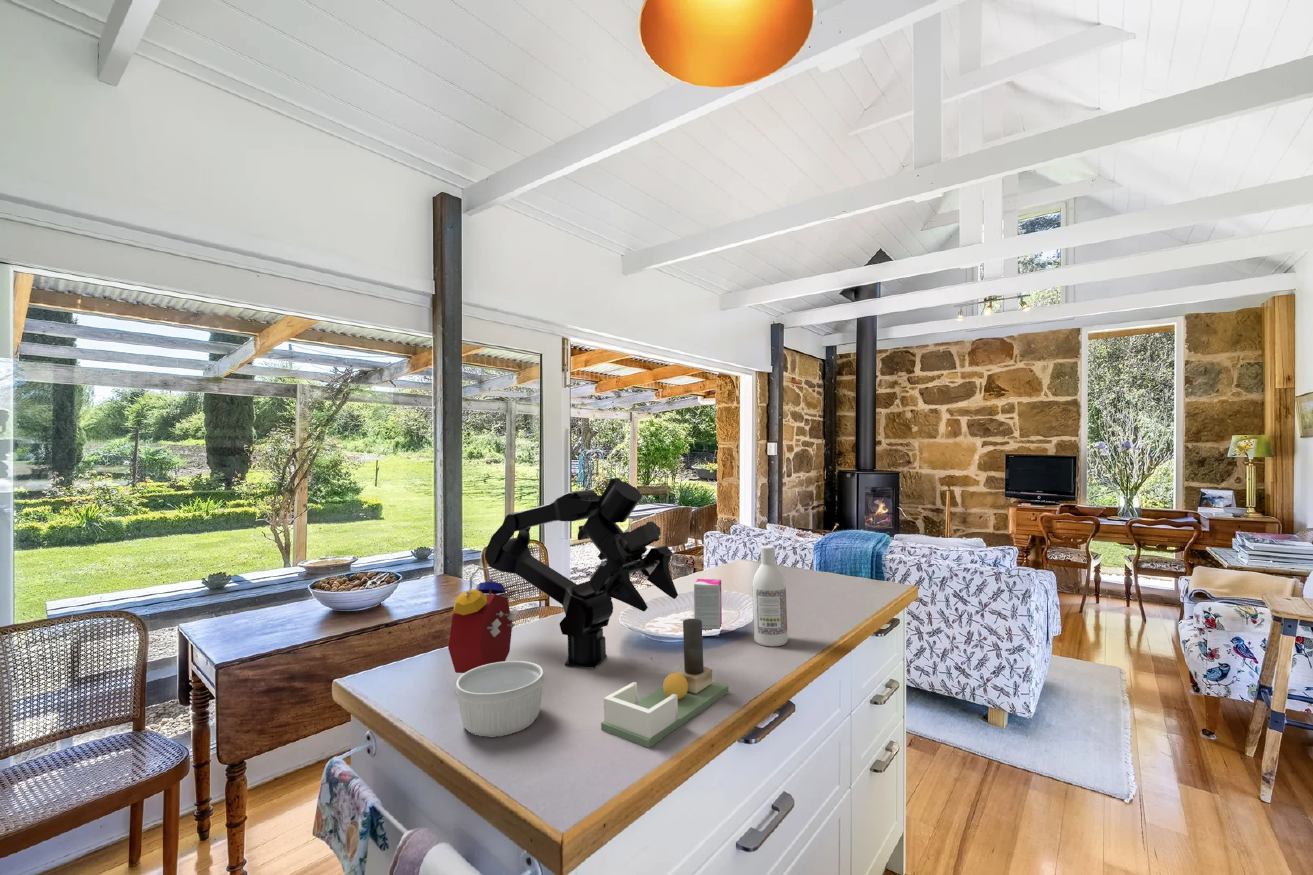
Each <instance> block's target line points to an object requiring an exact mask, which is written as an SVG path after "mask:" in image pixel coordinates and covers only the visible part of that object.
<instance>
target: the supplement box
mask: <svg viewBox="0 0 1313 875" xmlns="http://www.w3.org/2000/svg"><path fill="white" fill-rule="evenodd" d="M693 602H694V603H693V604H694V605H693V608H694V609H693V610H694V613H693V616H694V618H693V619H699V620H701V621H702V630H705V631H706V630H712V629H720V627H721V624H722V625H723V622H722V620H723V619H722V618H723V617H722V612H723V611H722V606H723V605H722V604H723V603H722V579H715V578H714V579H713V578H712V579H710V578H697V579H696V580H695V583H694V584H693Z"/></svg>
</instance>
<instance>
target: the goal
mask: <svg viewBox="0 0 1313 875" xmlns="http://www.w3.org/2000/svg"><path fill="white" fill-rule="evenodd" d="M638 693H639V692H638V682H636V681H633V682H631V683H629V684H627V685H626V686H624V687H622V688H620V689H618V690H616V691H614V692H612V693H611V694H609V695H606V696H605V697H603V710H604V711H603V715H604V716H603V717H604V718H603V719H604V720H603V721H604V722H606V723H609V724H612V725H614V726H617V727H620V728H622V729H625V730H628V731H630V732H633V733H636V734H638V735H641V736H643V737H646V738H649V739H650V738H651V737H653V736H654V735H656V734H657V733H659V732H660V731H662V730H663V729H665V728H666V727H668V726H669V725H671V724H672V723H673V722H675V721H677V720H678V700H677V695H676V694H672V695H671V696H669V697H668V698H666V699H664V700H663V701H661V702H660V703H658V704H656V705H655V706H653V707H651V708H650V709H647V708H644V707H641V706H638V701H639V697H638V696H639V695H638Z"/></svg>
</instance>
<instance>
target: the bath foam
mask: <svg viewBox="0 0 1313 875" xmlns="http://www.w3.org/2000/svg"><path fill="white" fill-rule="evenodd" d="M775 552H776V549H775V546H773V545H762V546H760V565H759V567H758V569H757V570H756V572H755V574H754V576H753V580H752V587H751V588H752V612H753V613H752V615H753V635H754V636H753V638H754V639H753V640H754V641H755V643H756V644H758V645H761V646H764V647H780V646H781V647H782V646H785V644H787V643H788V639H789V638H788V636H789V635H788V613H787V612H788V610H787V589H786V588H787V587H786V581H785V577H784V575H783V573H782V572H781V569H780V568H779V567H778V565H777V564H776V553H775Z"/></svg>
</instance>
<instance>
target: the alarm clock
mask: <svg viewBox="0 0 1313 875" xmlns="http://www.w3.org/2000/svg"><path fill="white" fill-rule="evenodd" d="M480 570H481V571H486V577H487V580H488V581H485V582H484V581H483V582H479V584H477V585H476V587H475V588H473V577H474V576H475V575H476V574H477V573H478V572H479V571H480ZM493 579H494V577H490V570H489V568H488V567H487V568H486V567H482V566H478V568H477V569H476V570H475V571H473V574H472V575H471V576H470V577H469V588H468V590H465V591H463V592H462V593H460V594H459V595H458V596H457V597H456V598H455V601H454V604H453V613H452V619H451V625H450V632H449V640H448V646H447V648H448V651H449V655H450V658H451V662H452V665H453V669H454V672H455V673H456V674H464V673H466V672H467V671H469V670H471V669H474V668H476V667H479V666H482V665H486V664H490V663H496V662H503V661H507V658H508V656H509V654H510V651H511V641H512V632H513V630H512V629H513V628H514V627H515V623H513V620H514V619H516V618H517V616H516V614H518V613H519V611H518V609H517V608H516V607H515V608H513V609H512V610H511V609H510V604H509V600H508V597H505V596H502V595H501V594H506V593H507V592H506V589H505V587H504V585H503V583H501V582H497V581H493Z"/></svg>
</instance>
